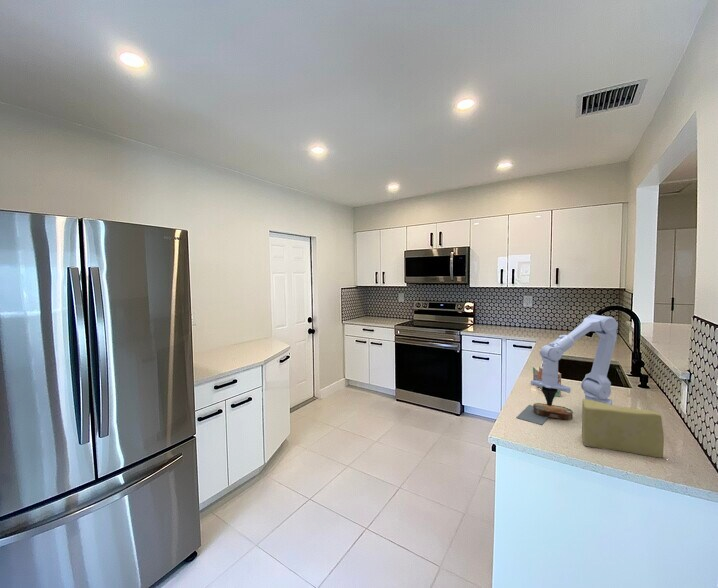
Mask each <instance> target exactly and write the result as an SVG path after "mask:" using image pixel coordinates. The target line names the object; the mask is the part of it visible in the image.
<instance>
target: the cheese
mask: <svg viewBox="0 0 718 588" xmlns="http://www.w3.org/2000/svg"><path fill="white" fill-rule="evenodd" d="M581 407H582V409H581V412H582V413H581V439H582V443H583V445H584V446H585V447H589V448H590V447H591V448H598V449H606V450H613V451H619V452H625V453H631V454H636V455H641V456H647V457H652V458H660V459H661V458H663V457H664V446H665V444H664V442H665V437H664V427H663V421H662V416H661V414H660V413H659V412H656V411H653V410H649V409H648V410H647V409H639V408H633V407H629V406H628V407H626V406H619V405H614V404H612V405H610V404H605V403H601V402H597V401H593V400H588V399H585V398H584V399H582V405H581Z"/></svg>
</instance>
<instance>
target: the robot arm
mask: <svg viewBox="0 0 718 588" xmlns="http://www.w3.org/2000/svg"><path fill="white" fill-rule="evenodd" d="M618 327H619V323H618V321H617V320H616V319H615V318H614V317H612V316H605V315H599V314H594V313H591V314H589V315H587V317H585V318H583V321H582V322H581V323H580V324H579V325H578V326H576V328H574V329H573V330H572V331H571V332H569V333H568V334H560V335H558V338H556V339H554V341H551V342H549V344H545V345H543V346H542V347H541V348H540V350H539V351H538V352H539V355H540V356H541V361H542V367H543V369H542V381H537V380H533V379H531V380H530V386H536V387H537V386H540V387H542V391H541V392H542V393H543V395H544V398H545V400H546V404H547V405H548V406H551V405H553V402H554V398H555V397H554V396H555V394H556V393H557V391H558V390H560V392H561V391H562V392H565V393H568V394H570V393H571V387H570V386H566V385H563V384H561V385H560V384H558V372H559V361H561V359H562V357H563V355H564V353H565V352H567V351H569V350H570V349H571V348H572V347H574V345H575V341H578V340H579V339H580V338H582V337H584V336H585V335H587V334H589V332H595V334H596V335H597V336H598V338H599V341H598V342H597V343H598V344H597V347H596V351H595V356H594V360H593V361H592V362H593V363H592V367H591V370H590V372H589V373H586V374H585V376H584V378H583V380H582V381H581V383H580V387H581V389H582V391H583V392H584V393H583V394H584V399H588V400H593V401H597V402H601V403H605V404H610V405H613V400H612V399H611V398H610V396H611V394H612V388H611V385H612V382H611V381H610V379H609V378H608V372H609V369H610V365H611V361H612V357H613V354H614V350H615V345H616V342H617V340H618V339H617V338H618V332H617V330H618Z"/></svg>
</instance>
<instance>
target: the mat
mask: <svg viewBox="0 0 718 588" xmlns="http://www.w3.org/2000/svg"><path fill="white" fill-rule="evenodd" d="M516 419H519V420H520V421H521V420H522V421H525V422H529V423H532V424H536V425H540V426H543V425H544V423H545V422H546V421H547V420H548V419H549V417H546V416H541V415H539V414H537V413H535V412H534V410H533V405H532V404H528V405H527V406H526V407H525V408H524V409H523V410H522V411H521V412H520V413H519V414H518V415H517V416H516Z"/></svg>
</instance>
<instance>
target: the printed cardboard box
mask: <svg viewBox="0 0 718 588" xmlns="http://www.w3.org/2000/svg"><path fill="white" fill-rule="evenodd" d="M542 369H543V366H537V367H536V366H534V367H533V366H532V373H533V375H532V377H533V378H532V380H537V381H542ZM558 384H560V385H562V373H560V372H559V371H558ZM538 387H539V388H540V389H541V390H542V387H540V386H538ZM538 387H537V388H538ZM539 388H538V389H539ZM540 389H539V390H540ZM541 390H540V391H541ZM561 393H562V392H561V391H560V390H558V391H557V393H556V394H555V396H554V398H561Z"/></svg>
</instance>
